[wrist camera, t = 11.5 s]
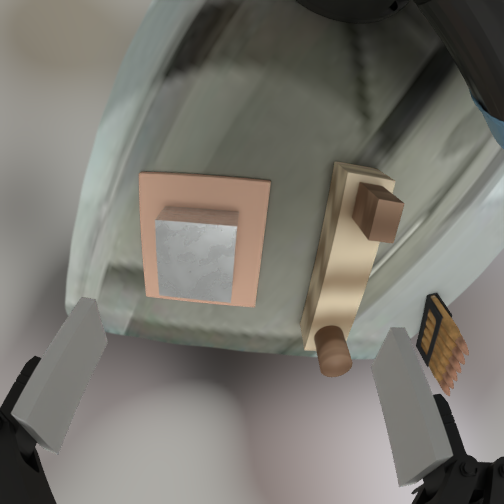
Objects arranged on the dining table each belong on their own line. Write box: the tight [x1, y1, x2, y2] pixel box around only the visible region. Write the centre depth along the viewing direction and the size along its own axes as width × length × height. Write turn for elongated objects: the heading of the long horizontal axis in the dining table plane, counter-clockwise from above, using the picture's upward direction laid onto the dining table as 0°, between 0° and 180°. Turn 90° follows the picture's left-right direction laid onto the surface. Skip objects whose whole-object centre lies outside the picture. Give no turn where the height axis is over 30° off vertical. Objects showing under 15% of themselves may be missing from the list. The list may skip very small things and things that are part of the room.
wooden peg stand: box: [300, 161, 404, 377], centre depth 32 cm, size 22×5×10 cm, turn 174°
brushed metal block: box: [155, 206, 239, 303], centre depth 33 cm, size 9×8×4 cm
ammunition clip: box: [416, 293, 469, 396], centre depth 36 cm, size 11×2×12 cm, turn 9°
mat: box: [139, 172, 271, 307], centre depth 35 cm, size 16×14×1 cm
